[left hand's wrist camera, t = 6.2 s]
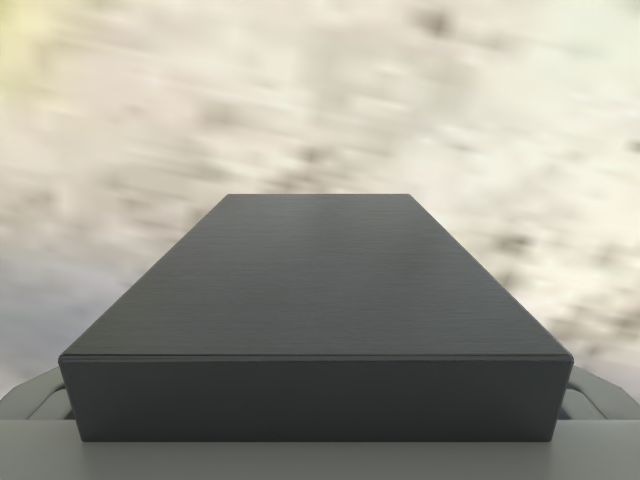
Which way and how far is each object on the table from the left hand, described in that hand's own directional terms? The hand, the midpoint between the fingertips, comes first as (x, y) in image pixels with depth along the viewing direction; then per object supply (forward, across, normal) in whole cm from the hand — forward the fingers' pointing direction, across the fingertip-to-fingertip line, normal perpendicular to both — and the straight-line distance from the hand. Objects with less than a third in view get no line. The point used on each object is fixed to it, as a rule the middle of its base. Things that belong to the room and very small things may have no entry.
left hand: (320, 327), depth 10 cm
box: (+3, 0, -9) cm, 10 cm away
